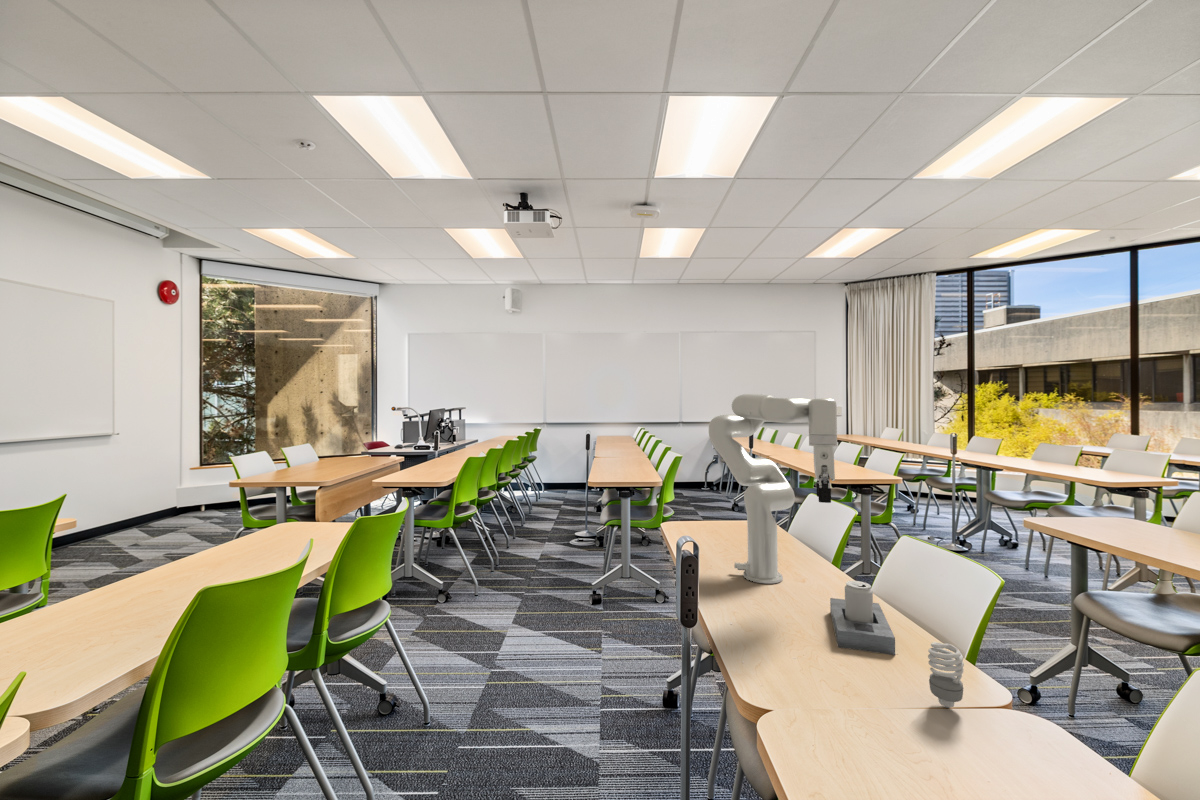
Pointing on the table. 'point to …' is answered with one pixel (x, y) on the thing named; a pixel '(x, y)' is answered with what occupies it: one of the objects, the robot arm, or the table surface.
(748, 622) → the table surface
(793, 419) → the robot arm
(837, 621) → the gray slotted block
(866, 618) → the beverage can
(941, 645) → the light bulb
